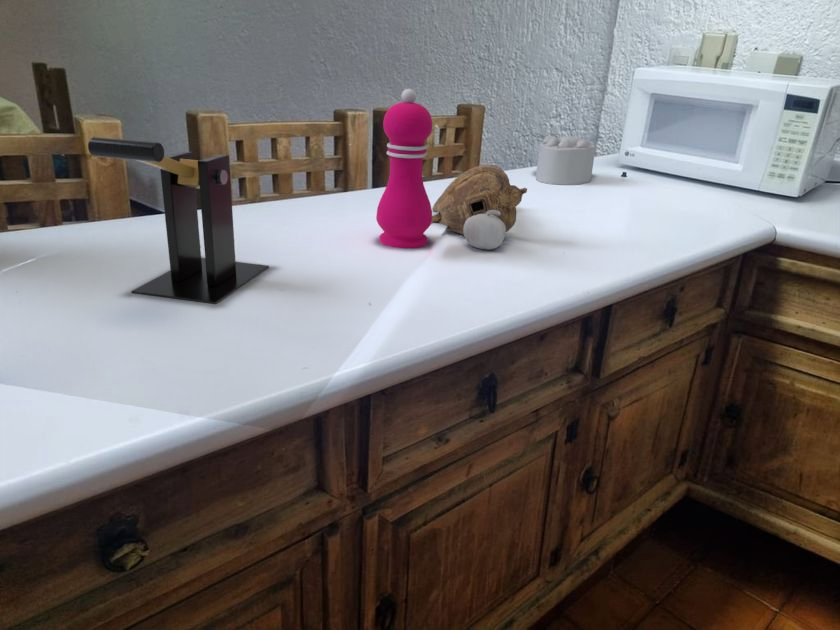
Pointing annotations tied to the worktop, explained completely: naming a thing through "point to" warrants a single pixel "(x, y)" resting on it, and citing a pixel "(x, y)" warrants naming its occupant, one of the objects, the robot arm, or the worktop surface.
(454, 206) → the brown wooden birdhouse
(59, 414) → the worktop surface
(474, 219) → the garlic
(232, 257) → the bracket
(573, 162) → the lumpy-topped squat cylinder
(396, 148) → the pepper mill
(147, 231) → the worktop surface
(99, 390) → the worktop surface
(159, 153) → the lever
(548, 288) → the worktop surface
